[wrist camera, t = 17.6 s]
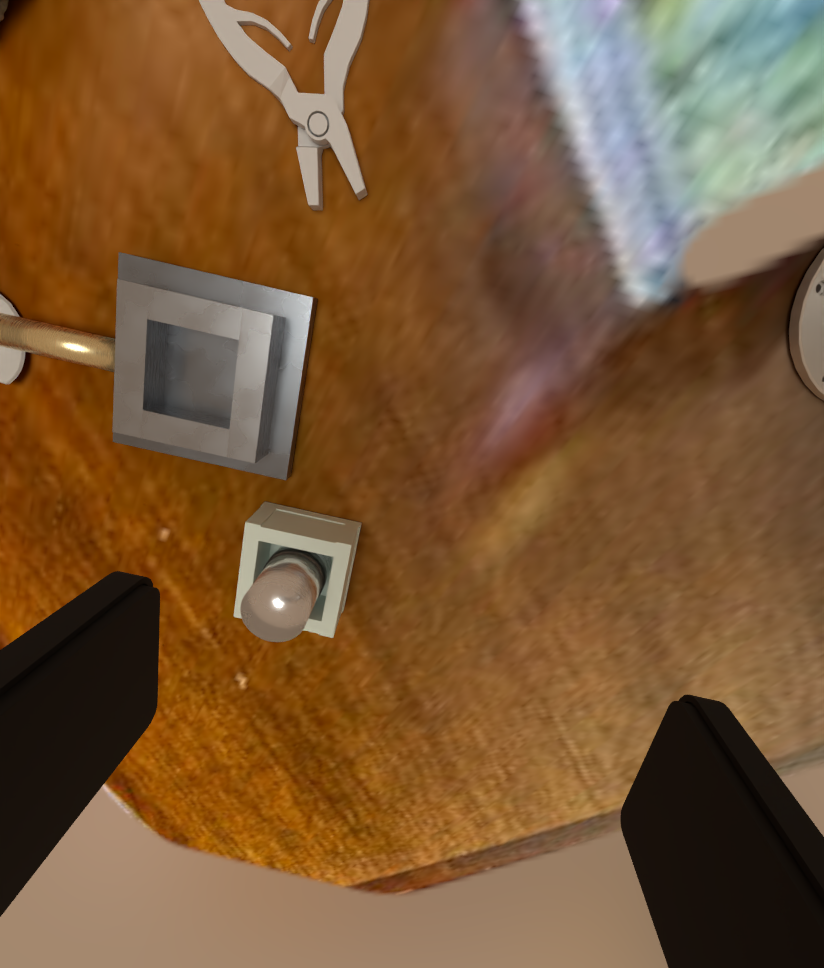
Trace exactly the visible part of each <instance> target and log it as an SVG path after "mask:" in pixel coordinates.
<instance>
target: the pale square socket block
mask: <svg viewBox="0 0 824 968" xmlns="http://www.w3.org/2000/svg"><path fill="white" fill-rule="evenodd" d="M361 524H362V523H360V522H356V521H351V520H347V519H342V518H338V517H333V516H329V515H324V514H319V513H315V512H310V511H306V510H301V509H297V508H292V507H288V506H283V505H279V504H274V503H269V502H264V503H263V504H262V505H261V507H260V508H259V509H258V510H257V511H256V512H255V513H254V514H253V515H252V516H251V517H250V518H249V519H248V520H247V521H246V522H245V529H244V537H243V546H242V554H241V562H240V570H239V578H238V586H237V594H236V602H235V610H234V617H237V618H242V617H241V612H240V606H241V602H242V599H243V597H244V595H245V594H246V593H247V591H248V590H249V589H250V587H251V586H252V584H253V583H254V582H255V580H256V579H257V578H258V576H259V575H260V574H261V572H262V571H263V568H264V566H265V564H266V563H267V561H268V560H269V559H270V557H271V556H272V555H273V554H274V553H275V552H276V551H277V550H278V549H279V547H280V546H286V547H290V548H295V549H299V550H304V551H309V552H313V553H318V554H322V555H327V556H331V567H330V570H329V573H328V575H327V579H326V583H325V585H324V588H323V590H322V592H321V594H320V596H319V597H318V598H317V600H316V602H315V605H314V607H313V609H312V611H311V614H310V616H309V618H308V621H307V623H306V625H305V627H304V629H303V630H304V631H309V632H314V633H319V635H322V636H327V637H331V638H333V637H334V634H335V630H336V627H337V624H338V621H339V618H340V615H341V612H342V613H343V610H344V607H345V602H346V597H347V592H348V588H349V583H350V578H351V573H352V568H353V563H354V558H355V553H356V548H357V543H358V539H359V534H360V529H361Z"/></svg>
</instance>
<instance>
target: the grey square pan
mask: <svg viewBox="0 0 824 968" xmlns="http://www.w3.org/2000/svg"><path fill="white" fill-rule="evenodd" d="M317 300H318V299H316V298H313V297H309V296H305V295H300V294H296V293H292V292H287V291H283V290H279V289H275V288H270V287H266V286H262V285H257V284H253V283H249V282H245V281H240V280H236V279H232V278H227V277H223V276H219V275H215V274H210V273H206V272H202V271H197V270H193V269H189V268H185V267H180V266H176V265H172V264H167V263H163V262H159V261H154V260H150V259H146V258H142V257H137V256H133V255H129V254H124V253H120V252H119V263H118V279H117V306H116V339H114V338H109V337H105V336H101V335H96V334H92V333H87V332H83V331H79V330H74V329H70V328H65V327H61V326H57V325H52V324H48V323H43V322H39V321H35V320H30V319H26V318H22V317H17V316H13V315H8V314H4V313H0V346H1V347H6V348H10V349H15V350H19V351H24V352H28V353H32V354H37V355H41V356H46V357H50V358H55V359H59V360H63V361H68V362H72V363H77V364H81V365H86V366H90V367H94V368H99V369H103V370H108V371H112V372H114V404H113V442H116V443H121V444H125V445H130V446H134V447H139V448H143V449H148V450H152V451H157V452H162V453H166V454H171V455H175V456H180V457H184V458H189V459H193V460H198V461H202V462H207V463H211V464H216V465H220V466H225V467H229V468H234V469H238V470H243V471H247V472H252V473H256V474H261V475H265V476H270V477H274V478H279V479H283V480H287V479H288V478H289V477H290V476H291V473H292V466H293V459H294V453H295V446H296V439H297V433H298V426H299V419H300V413H301V406H302V399H303V393H304V386H305V379H306V373H307V366H308V360H309V353H310V346H311V340H312V333H313V326H314V320H315V313H316V306H317Z"/></svg>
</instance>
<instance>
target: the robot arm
mask: <svg viewBox="0 0 824 968" xmlns="http://www.w3.org/2000/svg"><path fill="white" fill-rule="evenodd" d="M789 341H790V352H791V355H792V358H793V362H794V365H795V368H796V370H797V372H798V374H799V375H800V377H801V379H802V381H803V382H804V384H805V385H806V386H807V387H808V388H809V389H810V390H811V391H812V392H813V393H814V394H815V395H816V396H817V397H819V398H820V399H822V400H823V401H824V248H823V249H822V250H821V251H820V253H819V254H818V256H817V257H816V259H815V260H814V262H813V263H812V264H811V266H810V267H809V269H808V270H807V272H806V274H805V276H804V278H803V280H802V282H801V285H800V287H799V289H798V291H797V294H796V297H795V301H794V304H793V307H792V311H791V317H790V326H789ZM159 615H160V592H159V590H158V589H157V588H154V587H153V583H152V581H151V579H149V578H147V577H143V576H138V575H134V574H129V573H124V572H120V571H117V572H113V573H111V574H109V575H108V576H106V577H105V578H103V579H102V580H100V581H99V582H98V583H96V584H95V585H93V586H92V587H90V588H89V589H87V590H86V591H85V592H83V593H82V594H80V595H79V596H77V597H76V598H75V599H73V600H72V601H70V602H69V603H67V604H66V605H65V606H63V607H62V608H60V609H59V610H57V611H56V612H54V613H53V614H52V615H50V616H49V617H47V618H46V619H44V620H43V621H42V622H40V623H39V624H37V625H36V626H34V627H33V628H32V629H30V630H29V631H27V632H26V633H24V634H23V635H21V636H20V637H19V638H17V639H16V640H14V641H13V642H11V643H10V644H9V645H7V646H6V647H4V648H3V649H1V650H0V916H1V915H2V914H3V913H4V911H5V910H6V909H7V908H8V906H9V905H10V904H11V902H12V901H13V900H14V899H15V897H16V896H17V895H18V893H19V892H20V891H21V890H22V888H23V887H24V886H25V884H26V883H27V882H28V881H29V879H30V878H31V877H32V875H33V874H34V873H35V872H36V870H37V869H38V868H39V866H40V865H41V864H42V862H43V861H44V860H45V859H46V857H47V856H48V855H49V854H50V852H51V851H52V850H53V848H54V847H55V846H56V845H57V843H58V842H59V840H60V839H61V838H62V837H63V836H64V834H65V833H66V832H67V830H68V829H69V827H71V825H72V824H73V823H74V821H75V820H76V819H77V818H78V816H79V815H80V814H81V812H82V811H83V810H84V809H85V807H86V806H87V805H88V803H89V802H90V801H91V800H92V798H93V797H94V796H95V794H96V793H97V792H98V791H99V789H100V788H101V787H102V785H103V784H104V783H105V782H106V780H107V779H108V778H109V776H110V775H111V774H112V773H113V771H114V770H115V769H116V767H117V766H118V765H119V764H120V762H121V761H122V760H123V758H124V757H125V756H126V755H127V753H128V752H129V751H130V749H131V748H132V747H133V746H134V744H135V743H136V742H137V740H138V739H139V738H140V737H141V735H142V734H143V733H144V731H145V730H146V729H147V728H148V726H149V725H150V723H151V721H152V719H153V717H154V715H155V712H156V708H157V697H158V656H159ZM621 828H622V832H623V836H624V838H625V841H626V844H627V847H628V850H629V853H630V856H631V859H632V862H633V865H634V868H635V871H636V874H637V877H638V879H639V882H640V885H641V888H642V891H643V894H644V897H645V900H646V903H647V906H648V909H649V912H650V915H651V918H652V920H653V923H654V926H655V929H656V932H657V935H658V938H659V941H660V944H661V947H662V950H663V953H664V956H665V958H666V961H667V964H668V967H669V968H824V837H823V835H822V834H821V833H820V832H819V830H818V829H817V827H816V826H815V825H814V823H813V822H812V820H811V819H810V818H809V816H808V815H807V814H806V812H805V811H804V810H803V808H802V807H801V806H800V804H799V803H798V801H797V800H796V799H795V797H794V796H793V795H792V793H791V792H790V791H789V789H788V788H787V787H786V785H785V784H784V783H783V781H782V780H781V778H780V777H779V776H778V774H777V773H776V772H775V770H774V769H773V768H772V766H771V765H770V764H769V762H768V761H767V760H766V758H765V757H764V755H763V754H762V753H761V751H760V750H759V749H758V747H757V746H756V745H755V743H754V742H753V741H752V739H751V738H750V737H749V735H748V734H747V732H746V731H745V730H744V728H743V727H742V726H741V724H740V723H739V722H738V720H737V719H736V718H735V716H734V715H733V714H732V712H731V711H730V709H729V708H728V707H727V706H726V705H725V704H724V703H722V702H719V701H715V700H711V699H706V698H702V697H697V696H692V695H684V696H683V697H681V698H680V700H679V701H673V702H672V703H671V704H670V705H669V707H668V709H667V711H666V713H665V716H664V718H663V720H662V722H661V724H660V726H659V729H658V731H657V733H656V735H655V737H654V739H653V742H652V744H651V746H650V748H649V750H648V752H647V755H646V757H645V759H644V761H643V763H642V765H641V768H640V770H639V772H638V774H637V776H636V778H635V781H634V783H633V785H632V787H631V789H630V791H629V794H628V796H627V798H626V800H625V802H624V804H623V807H622V810H621Z"/></svg>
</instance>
